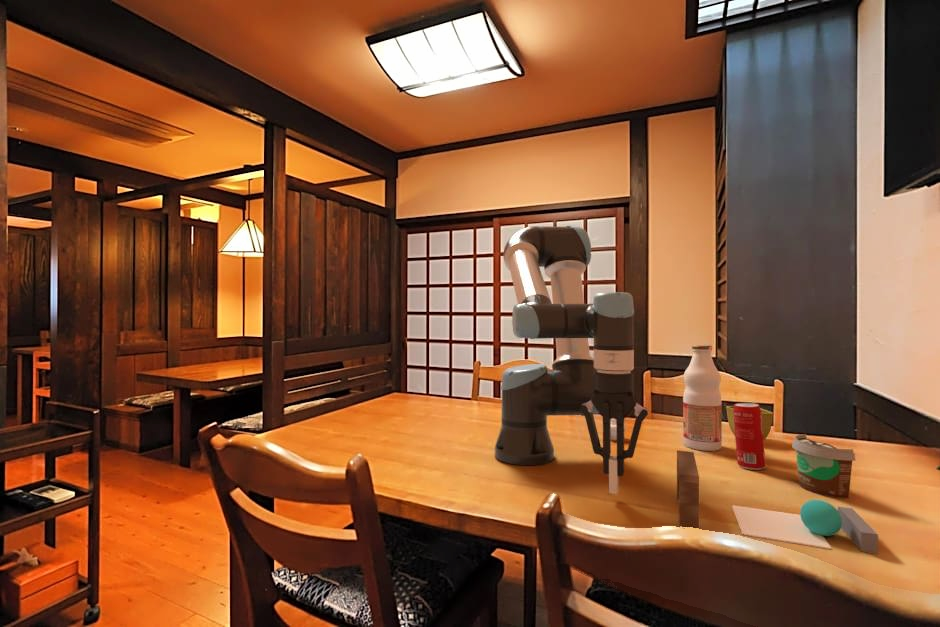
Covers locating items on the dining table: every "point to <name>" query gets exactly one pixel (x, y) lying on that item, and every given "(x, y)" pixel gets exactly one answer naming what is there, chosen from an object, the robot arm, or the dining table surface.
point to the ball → (821, 517)
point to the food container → (823, 467)
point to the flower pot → (766, 420)
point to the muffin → (614, 429)
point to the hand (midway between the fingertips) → (613, 491)
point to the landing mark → (777, 526)
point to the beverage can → (749, 436)
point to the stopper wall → (858, 530)
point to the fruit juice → (702, 402)
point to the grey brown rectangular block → (687, 489)
